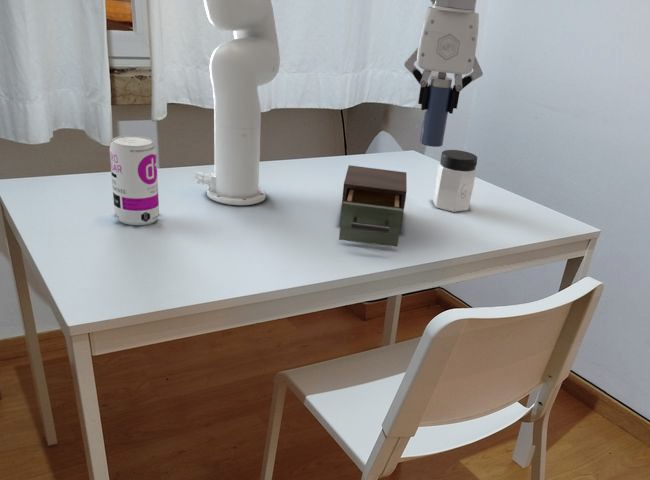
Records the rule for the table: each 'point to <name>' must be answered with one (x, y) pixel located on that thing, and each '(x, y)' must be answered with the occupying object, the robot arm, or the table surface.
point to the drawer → (371, 218)
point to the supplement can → (134, 180)
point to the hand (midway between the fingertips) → (436, 109)
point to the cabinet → (375, 183)
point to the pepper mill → (436, 110)
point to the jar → (455, 180)
